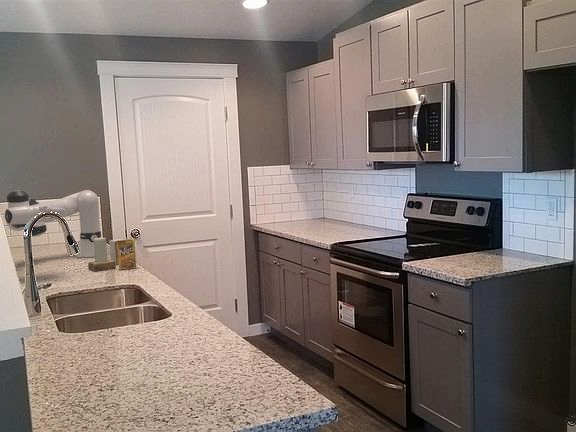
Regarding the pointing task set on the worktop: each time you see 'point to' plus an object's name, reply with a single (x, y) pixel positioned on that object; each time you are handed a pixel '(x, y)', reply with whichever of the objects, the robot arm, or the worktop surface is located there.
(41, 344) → the worktop surface
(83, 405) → the worktop surface
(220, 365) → the worktop surface
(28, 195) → the robot arm
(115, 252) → the small box
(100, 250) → the block
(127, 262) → the candy box
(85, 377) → the worktop surface
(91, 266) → the base
